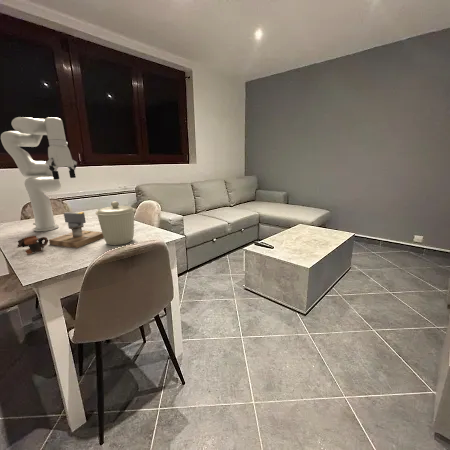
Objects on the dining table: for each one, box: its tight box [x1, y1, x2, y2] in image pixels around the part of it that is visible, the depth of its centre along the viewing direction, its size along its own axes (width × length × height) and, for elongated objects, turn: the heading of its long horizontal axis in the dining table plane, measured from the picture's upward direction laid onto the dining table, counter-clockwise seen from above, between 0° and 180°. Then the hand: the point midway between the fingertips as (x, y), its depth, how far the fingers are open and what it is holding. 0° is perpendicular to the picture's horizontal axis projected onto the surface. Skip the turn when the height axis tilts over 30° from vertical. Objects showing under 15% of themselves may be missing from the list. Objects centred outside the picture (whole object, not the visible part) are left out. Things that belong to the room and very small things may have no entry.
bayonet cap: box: [63, 211, 86, 230], centre depth 128 cm, size 11×7×8 cm, turn 72°
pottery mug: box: [17, 235, 49, 256], centre depth 117 cm, size 12×10×8 cm
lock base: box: [48, 227, 104, 249], centre depth 130 cm, size 18×18×7 cm
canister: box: [95, 200, 136, 246], centre depth 124 cm, size 18×18×21 cm
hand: (65, 178), depth 130 cm, fingers open, 9 cm apart
